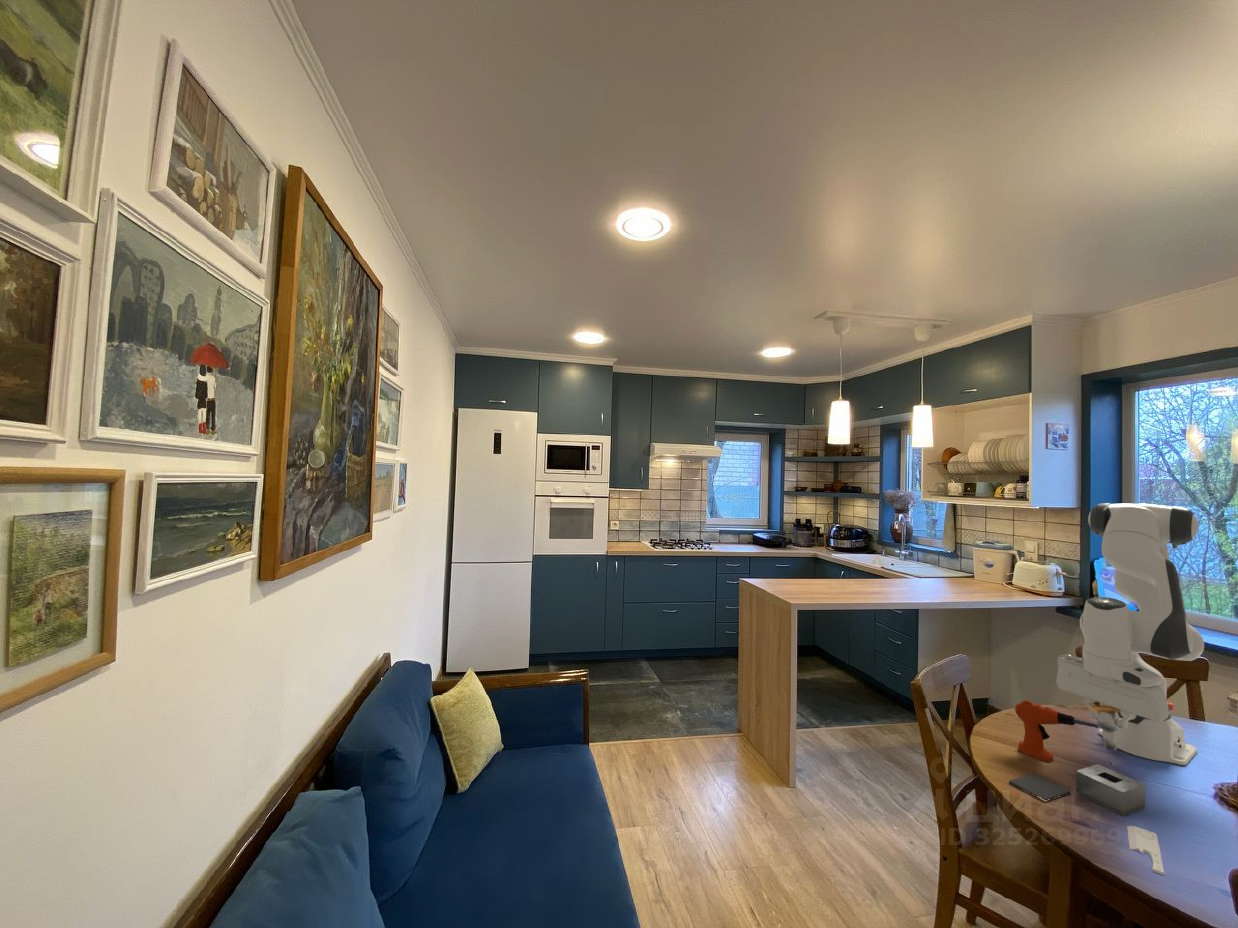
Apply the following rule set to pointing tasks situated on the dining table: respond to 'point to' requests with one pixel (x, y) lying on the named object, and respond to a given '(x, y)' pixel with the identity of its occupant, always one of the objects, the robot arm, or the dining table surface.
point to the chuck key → (1107, 724)
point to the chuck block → (1110, 789)
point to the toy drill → (1041, 727)
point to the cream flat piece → (1146, 845)
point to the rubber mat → (1039, 786)
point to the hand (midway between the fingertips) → (1108, 722)
